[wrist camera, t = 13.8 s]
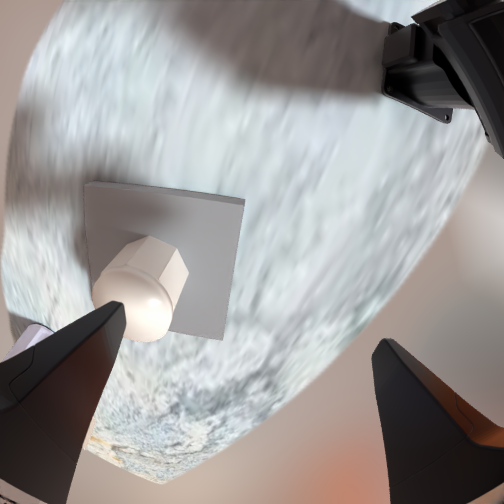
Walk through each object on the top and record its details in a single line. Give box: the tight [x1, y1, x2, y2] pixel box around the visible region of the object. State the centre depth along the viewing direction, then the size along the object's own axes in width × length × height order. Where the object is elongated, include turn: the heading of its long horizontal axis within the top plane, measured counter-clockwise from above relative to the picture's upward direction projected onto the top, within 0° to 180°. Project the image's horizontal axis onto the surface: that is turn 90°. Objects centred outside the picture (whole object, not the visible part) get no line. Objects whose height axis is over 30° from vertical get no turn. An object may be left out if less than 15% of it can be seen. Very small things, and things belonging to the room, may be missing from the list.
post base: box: [84, 181, 245, 340], centre depth 19 cm, size 12×12×6 cm
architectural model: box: [82, 417, 96, 450], centre depth 32 cm, size 3×7×7 cm, turn 167°
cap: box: [92, 235, 189, 342], centre depth 17 cm, size 5×5×5 cm
